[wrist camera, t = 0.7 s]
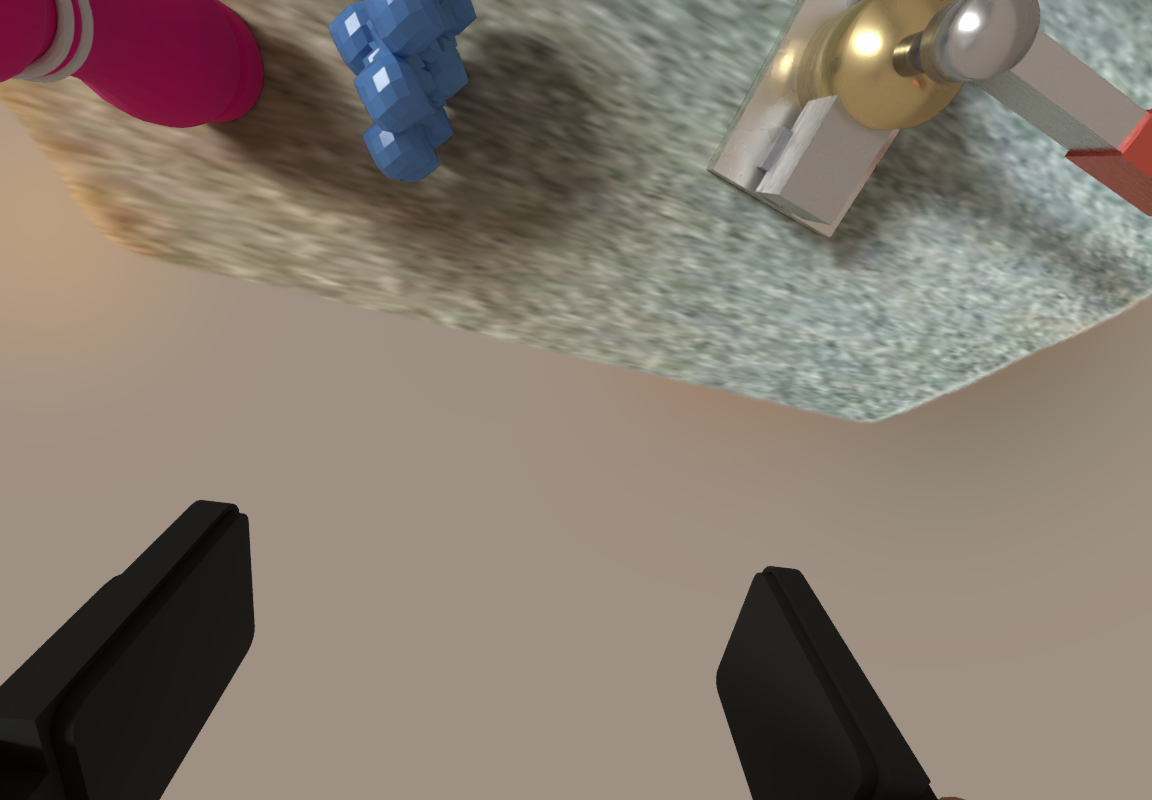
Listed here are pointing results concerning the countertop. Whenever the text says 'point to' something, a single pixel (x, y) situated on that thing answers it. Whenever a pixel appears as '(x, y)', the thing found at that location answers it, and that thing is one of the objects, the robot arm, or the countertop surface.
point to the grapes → (404, 76)
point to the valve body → (830, 106)
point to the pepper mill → (138, 55)
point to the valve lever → (1044, 89)
